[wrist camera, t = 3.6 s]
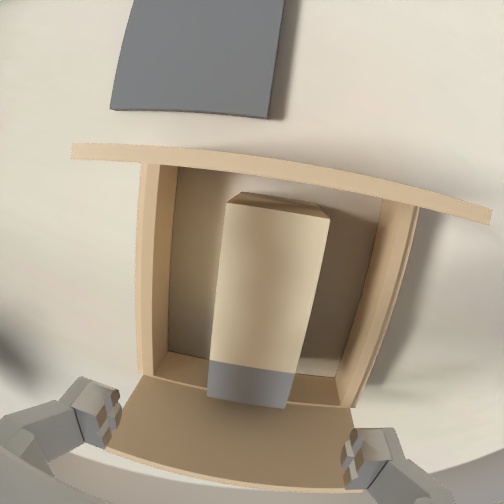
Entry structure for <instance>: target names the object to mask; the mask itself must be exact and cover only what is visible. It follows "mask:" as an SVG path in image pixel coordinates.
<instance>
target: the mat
mask: <svg viewBox="0 0 504 504" xmlns="http://www.w3.org/2000/svg"><path fill="white" fill-rule="evenodd" d="M284 3H285V0H134V2H133V6H132V9H131V12H130V16H129V20H128V23H127V27H126V31H125V35H124V39H123V43H122V47H121V51H120V56H119V60H118V65H117V70H116V75H115V80H114V85H113V91H112V97H111V103H110V109H112V110H116V111H128V110H138V111H177V112H196V113H210V114H222V115H232V116H242V117H251V118H259V119H268V112H269V105H270V98H271V91H272V84H273V77H274V70H275V64H276V57H277V50H278V43H279V36H280V30H281V23H282V16H283V9H284Z"/></svg>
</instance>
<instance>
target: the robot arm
mask: <svg viewBox="0 0 504 504" xmlns="http://www.w3.org/2000/svg"><path fill="white" fill-rule="evenodd" d="M119 398H120V394H119V390H117V389H115V388H113V387H110V386H107V385H104V384H101V383H99V382H96V381H93V380H90V379H88V378H85V377H83V376H81V377H78V378H77V379H76V380H75V382H74V383H73V384H72V385H71V386H70V388H69V389H68V390H67V391H66V392H65V393H64V395H63V396H62V397H61V398H60V399H59V401H56V400H53V401H50V402H47V403H44V404H41V405H38V406H35V407H31V408H28V409H25V410H22V411H18V412H15V413H12V414H8V415H5V416H3V418H2V419H1V420H0V504H113V503H110V502H108V501H105V500H102V499H100V498H98V497H95V496H93V495H90V494H88V493H86V492H84V491H81V490H79V489H77V488H75V487H73V486H71V485H68V484H66V483H64V482H62V481H60V480H58V479H56V478H54V473H53V471H52V470H51V468H50V466H49V464H48V462H50V461H52V460H54V459H56V458H58V457H59V456H61V455H63V454H65V453H67V452H69V451H71V450H73V449H74V448H76V447H78V446H80V445H82V444H83V443H84V442H86V443H88V444H91V445H94V446H96V447H99V448H102V449H106V447H107V445H108V443H109V442H110V440H111V438H112V435H111V431H113V430H115V429H117V427H118V426H119V424H120V421H121V417H122V407H121V405H120V404H119V402H118V400H119ZM349 437H350V440H349V441H347V442H346V443H345V444H344V446H343V448H342V451H341V467H342V468H344V469H345V470H346V471H345V473H344V475H343V480H344V487H345V490H364V489H367V491H368V492H369V494H370V495H371V496H372V497H373V498H374V499H375V500H376V502H377V503H378V504H456V503H455V500H454V497H453V495H452V492H451V491H450V490H449V489H448V488H446V487H445V486H444V485H442V484H441V483H440V482H438V481H437V480H436V479H434V478H433V477H432V476H430V475H429V474H428V473H427V472H425V471H424V470H423V469H421V468H420V467H419V466H417V465H416V464H415V463H414V462H412V461H411V460H410V459H405V456H404V453H403V450H402V448H401V445H400V442H399V439H398V437H397V434H396V431H395V429H394V428H354V429H353V430H351V432H350V434H349ZM494 504H504V499H503V500H501V501H499V502H496V503H494Z"/></svg>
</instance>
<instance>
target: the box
mask: <svg viewBox="0 0 504 504" xmlns="http://www.w3.org/2000/svg"><path fill="white" fill-rule="evenodd" d="M329 224H330V218H329V217H328V216H327V215H326V213H325V212H324V211H323V210H322V209H321V208H320V207H319V206H318V205H317V204H316V203H310V202H304V201H298V200H292V199H286V198H280V197H273V196H267V195H260V194H253V193H246V192H241V193H239V194H238V195H236V196H235V197H234V198H232V199H231V200H229V201H228V202H227V203H226V209H225V217H224V226H223V234H222V243H221V251H220V260H219V269H218V278H217V288H216V297H215V307H214V317H213V327H212V338H211V349H210V360H209V371H208V383H207V396H208V397H213V398H218V399H224V400H229V401H235V402H241V403H247V404H253V405H260V406H267V407H274V408H282V409H285V407H286V404H287V400H288V397H289V393H290V390H291V386H292V383H293V379H294V376H295V372H296V368H297V365H298V361H299V357H300V353H301V349H302V346H303V342H304V338H305V334H306V330H307V326H308V322H309V317H310V313H311V309H312V305H313V301H314V296H315V292H316V287H317V283H318V278H319V274H320V269H321V264H322V260H323V255H324V250H325V245H326V240H327V235H328V230H329Z"/></svg>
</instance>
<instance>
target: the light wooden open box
mask: <svg viewBox="0 0 504 504" xmlns="http://www.w3.org/2000/svg"><path fill="white" fill-rule="evenodd" d="M71 159H78V160H102V161H120V162H135V163H141V172H140V183H139V195H138V210H137V228H136V256H135V313H136V341H137V358H138V373H141V374H144V375H143V377H142V378H141V380H140V381H139V383H138V385H137V386H136V388H135V390H134V391H133V393H132V394H131V396H130V398H129V399H128V401H127V403H126V404H125V406H124V408H123V409H122V417H121V421H120V424H119V426H118V427H117V429H115V430H113V431H111V435H112V438H111V440H110V442H109V443H108V445H107V447H106V449H103V450H104V451H107V452H110V453H112V454H115V455H118V456H121V457H123V458H126V459H129V460H132V461H135V462H138V463H141V464H145V465H148V466H151V467H155V468H158V469H162V470H165V471H169V472H173V473H176V474H180V475H185V476H189V477H193V478H198V479H202V480H207V481H212V482H218V483H223V484H229V485H235V486H242V487H249V488H257V489H266V490H276V491H288V492H306V493H355V492H356V493H357V492H363V491H364V490H345V487H344V480H343V475H344V473H345V471H346V470H345V469H344V468H342V467H341V451H342V448H343V446H344V444H345V443H346V442H347V441H349V440H350V437H349V434H350V432H351V430H353V429H354V425H353V420H352V416H351V411H350V408H355V407H356V405H357V403H358V400H359V398H360V396H361V394H362V391H363V389H364V387H365V384H366V382H367V379H368V377H369V375H370V372H371V370H372V367H373V365H374V362H375V360H376V357H377V354H378V352H379V349H380V346H381V344H382V341H383V338H384V335H385V333H386V330H387V327H388V324H389V321H390V318H391V315H392V312H393V309H394V306H395V302H396V299H397V296H398V293H399V289H400V286H401V283H402V279H403V276H404V272H405V268H406V265H407V261H408V257H409V253H410V249H411V245H412V241H413V237H414V232H415V228H416V223H417V219H418V214H419V209H420V207H422V208H426V209H430V210H434V211H438V212H442V213H446V214H449V215H453V216H457V217H461V218H464V219H468V220H471V221H475V222H478V223H482V224H485V225H489V223H490V219H491V214H492V210H491V209H488V208H485V207H482V206H479V205H475V204H472V203H469V202H466V201H463V200H459V199H456V198H453V197H449V196H446V195H442V194H439V193H435V192H431V191H428V190H424V189H420V188H416V187H413V186H409V185H405V184H401V183H397V182H392V181H388V180H384V179H380V178H375V177H371V176H366V175H362V174H357V173H352V172H347V171H342V170H337V169H332V168H327V167H321V166H316V165H310V164H305V163H299V162H293V161H286V160H280V159H273V158H267V157H260V156H252V155H245V154H237V153H228V152H219V151H210V150H200V149H189V148H177V147H164V146H149V145H129V144H96V143H72V152H71ZM179 166H181V167H191V168H200V169H209V170H218V171H226V172H234V173H241V174H249V175H256V176H263V177H269V178H276V179H282V180H289V181H295V182H301V183H307V184H312V185H318V186H324V187H329V188H334V189H340V190H345V191H350V192H355V193H360V194H365V195H369V196H374V197H379V198H383V204H382V209H381V214H380V219H379V224H378V228H377V233H376V238H375V242H374V247H373V251H372V255H371V259H370V263H369V267H368V271H367V275H366V279H365V283H364V287H363V290H362V294H361V298H360V301H359V305H358V308H357V312H356V315H355V319H354V322H353V325H352V329H351V332H350V335H349V338H348V341H347V344H346V347H345V351H344V354H343V357H342V360H341V362H340V365H339V368H338V371H337V374H336V377H335V378H330V377H320V376H310V375H302V374H295V376H294V379H293V383H292V386H291V390H290V393H289V397H288V400H287V404H286V407H285V409H282V408H274V407H267V406H260V405H253V404H247V403H241V402H235V401H229V400H224V399H218V398H213V397H208V396H207V383H208V371H209V360H207V359H202V358H197V357H192V356H188V355H183V354H179V353H174V352H170V351H168V303H169V278H170V260H171V244H172V230H173V218H174V206H175V196H176V186H177V177H178V168H179Z"/></svg>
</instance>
